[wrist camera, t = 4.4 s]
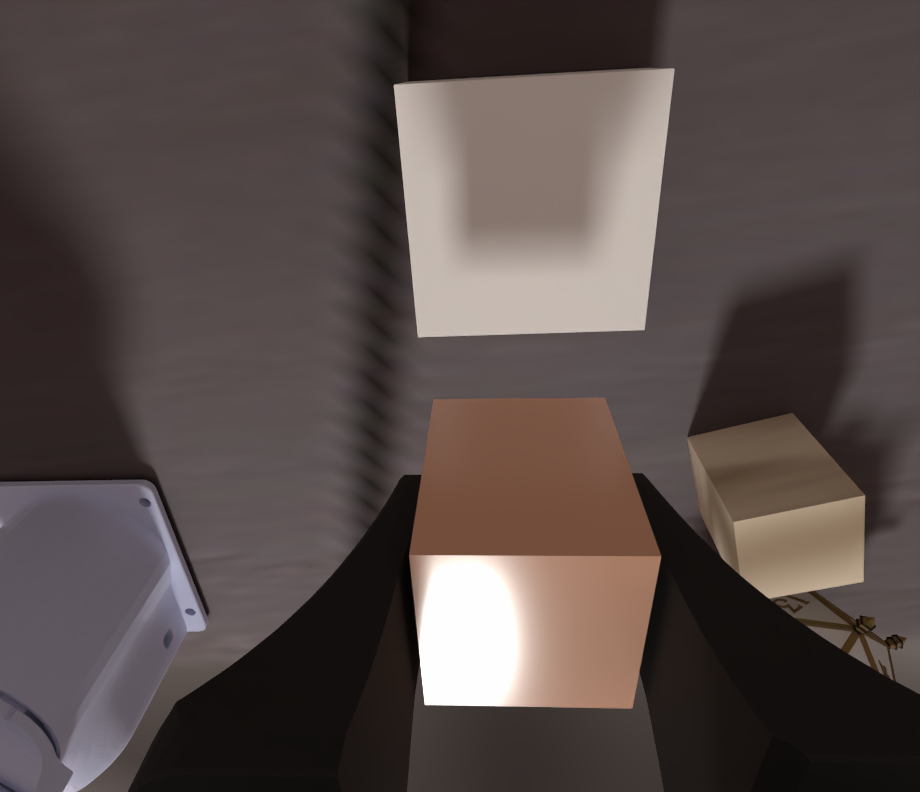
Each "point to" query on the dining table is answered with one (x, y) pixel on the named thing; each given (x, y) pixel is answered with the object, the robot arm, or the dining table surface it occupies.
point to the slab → (533, 199)
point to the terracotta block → (530, 556)
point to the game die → (843, 629)
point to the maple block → (779, 506)
